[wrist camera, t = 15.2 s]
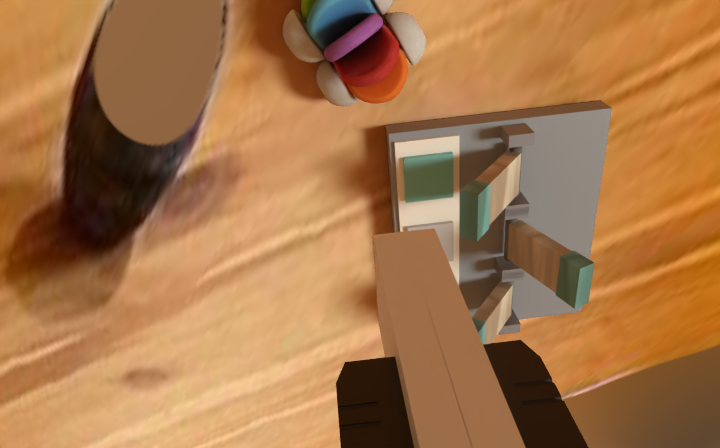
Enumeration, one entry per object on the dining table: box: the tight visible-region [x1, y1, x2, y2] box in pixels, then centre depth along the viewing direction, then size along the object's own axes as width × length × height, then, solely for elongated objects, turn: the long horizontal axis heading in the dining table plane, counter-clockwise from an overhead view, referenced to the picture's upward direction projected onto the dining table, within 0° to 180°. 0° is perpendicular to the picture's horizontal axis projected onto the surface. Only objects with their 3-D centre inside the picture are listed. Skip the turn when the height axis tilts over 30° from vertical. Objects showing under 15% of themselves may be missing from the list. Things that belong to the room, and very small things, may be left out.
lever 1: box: [460, 146, 523, 241], centre depth 42 cm, size 1×4×9 cm
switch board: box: [386, 100, 612, 335], centre depth 49 cm, size 18×21×4 cm
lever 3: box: [504, 219, 594, 309], centre depth 45 cm, size 1×4×9 cm, turn 5°
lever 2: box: [472, 281, 514, 344], centre depth 49 cm, size 1×4×9 cm
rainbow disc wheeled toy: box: [282, 0, 426, 106], centre depth 38 cm, size 8×10×7 cm
